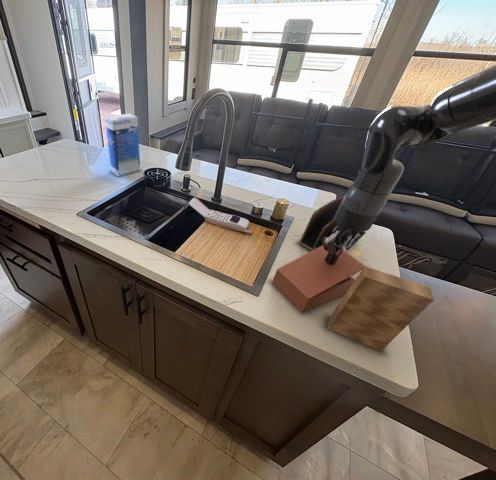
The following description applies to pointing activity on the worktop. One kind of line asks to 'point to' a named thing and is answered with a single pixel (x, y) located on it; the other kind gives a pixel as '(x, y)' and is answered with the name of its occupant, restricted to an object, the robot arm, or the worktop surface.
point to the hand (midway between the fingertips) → (329, 262)
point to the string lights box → (123, 143)
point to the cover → (318, 271)
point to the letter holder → (320, 225)
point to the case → (306, 304)
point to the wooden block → (378, 307)
